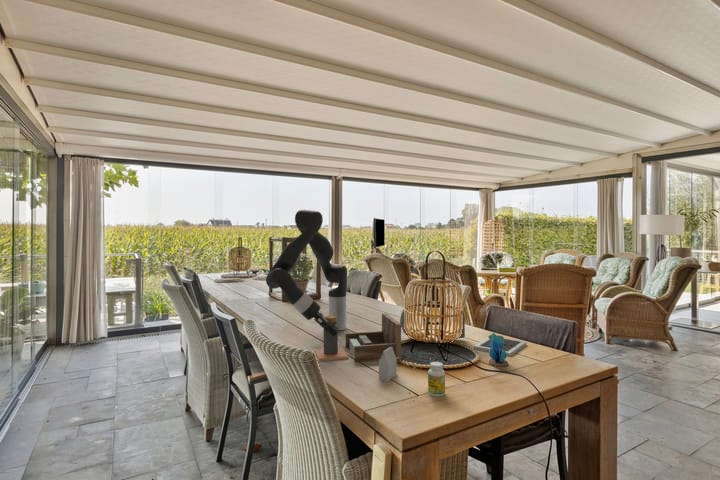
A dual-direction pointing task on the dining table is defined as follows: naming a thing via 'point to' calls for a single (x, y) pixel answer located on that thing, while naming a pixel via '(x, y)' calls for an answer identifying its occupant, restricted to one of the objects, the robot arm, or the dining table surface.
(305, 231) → the robot arm
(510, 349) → the picture frame
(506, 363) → the gemstone
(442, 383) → the supplement bottle
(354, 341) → the sage offcut
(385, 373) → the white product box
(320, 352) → the terracotta pad
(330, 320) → the bottle
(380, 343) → the walnut rack
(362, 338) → the charcoal offcut
